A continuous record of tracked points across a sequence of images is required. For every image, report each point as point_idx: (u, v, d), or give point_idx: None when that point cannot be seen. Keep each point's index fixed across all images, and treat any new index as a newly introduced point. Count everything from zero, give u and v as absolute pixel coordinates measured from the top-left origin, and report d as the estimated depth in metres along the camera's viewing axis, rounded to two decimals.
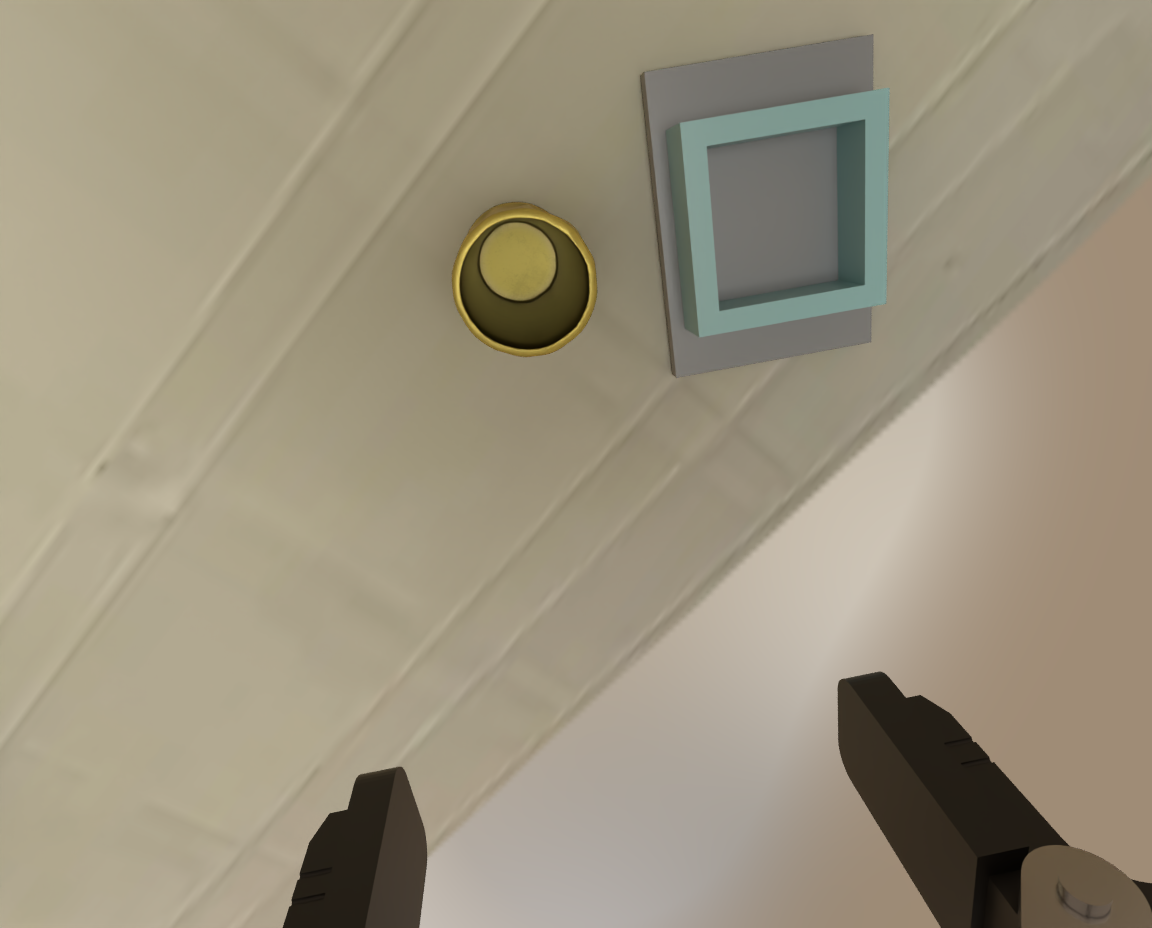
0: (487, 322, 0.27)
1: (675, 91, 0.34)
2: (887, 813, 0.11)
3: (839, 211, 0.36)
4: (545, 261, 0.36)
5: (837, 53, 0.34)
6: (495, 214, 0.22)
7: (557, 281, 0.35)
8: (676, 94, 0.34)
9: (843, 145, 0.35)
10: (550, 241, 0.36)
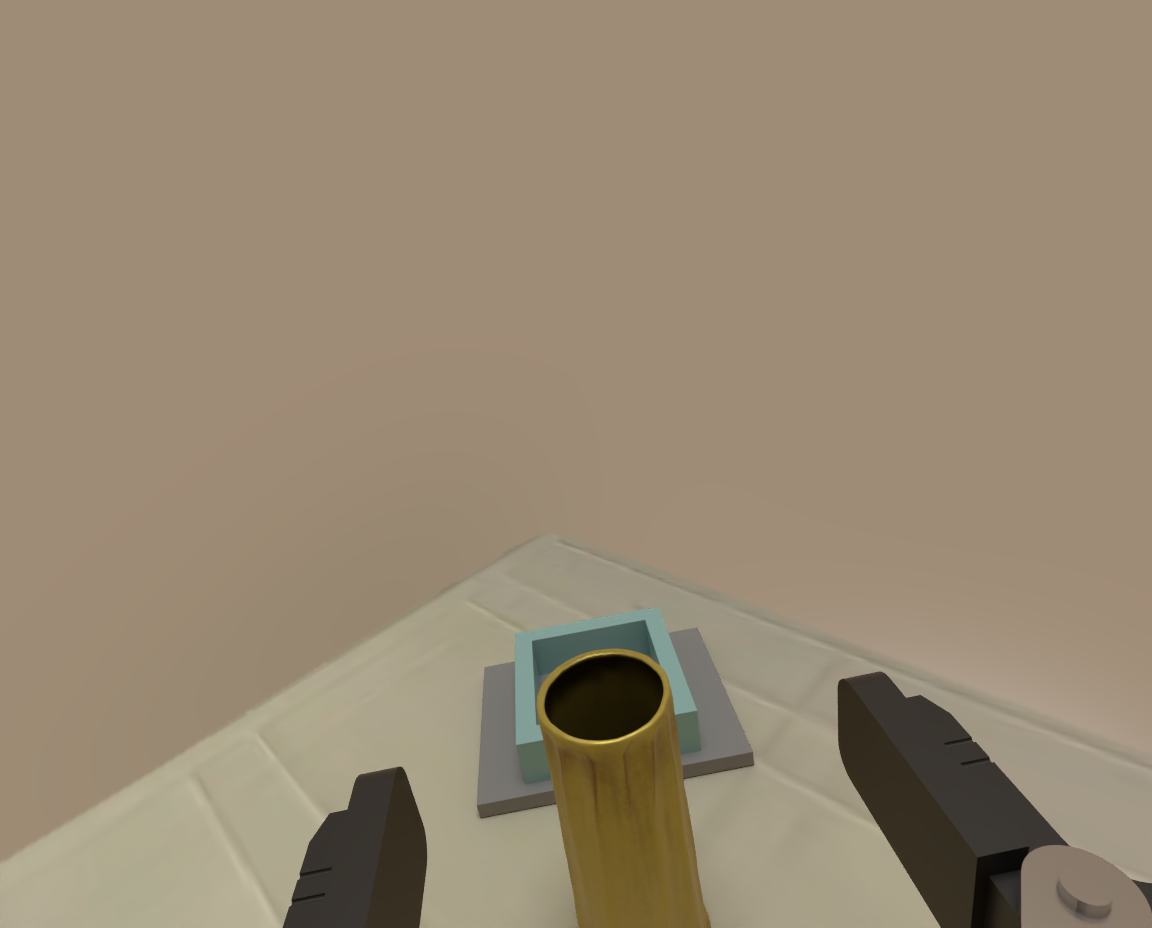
0: None
1: (496, 780, 0.38)
2: (887, 813, 0.11)
3: None
4: None
5: (491, 683, 0.46)
6: (538, 715, 0.24)
7: None
8: (499, 778, 0.38)
9: (551, 664, 0.46)
10: None
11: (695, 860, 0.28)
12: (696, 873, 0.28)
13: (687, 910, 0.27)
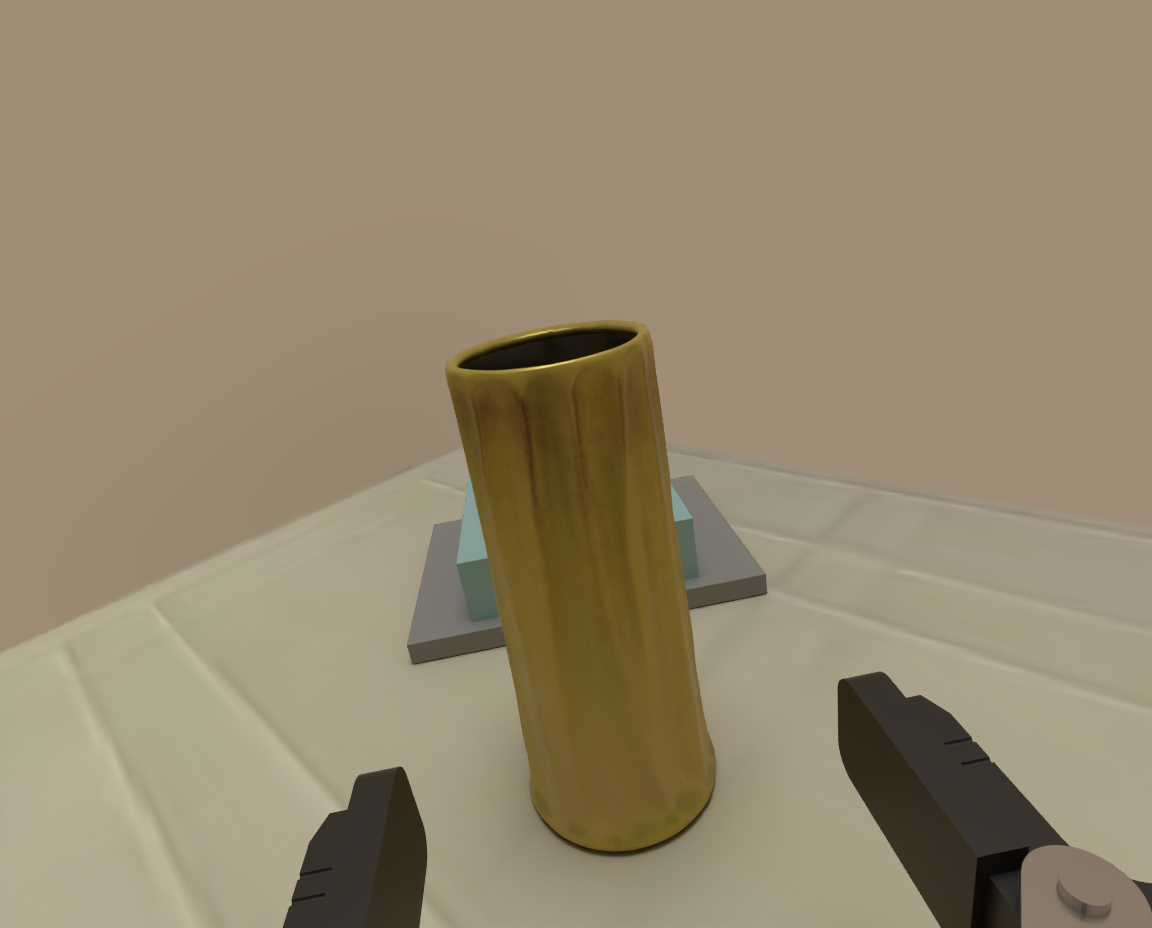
0: None
1: (435, 620, 0.30)
2: (887, 813, 0.11)
3: None
4: None
5: (441, 537, 0.38)
6: (446, 368, 0.16)
7: None
8: (438, 619, 0.30)
9: None
10: None
11: (691, 639, 0.19)
12: (693, 661, 0.19)
13: (680, 704, 0.18)
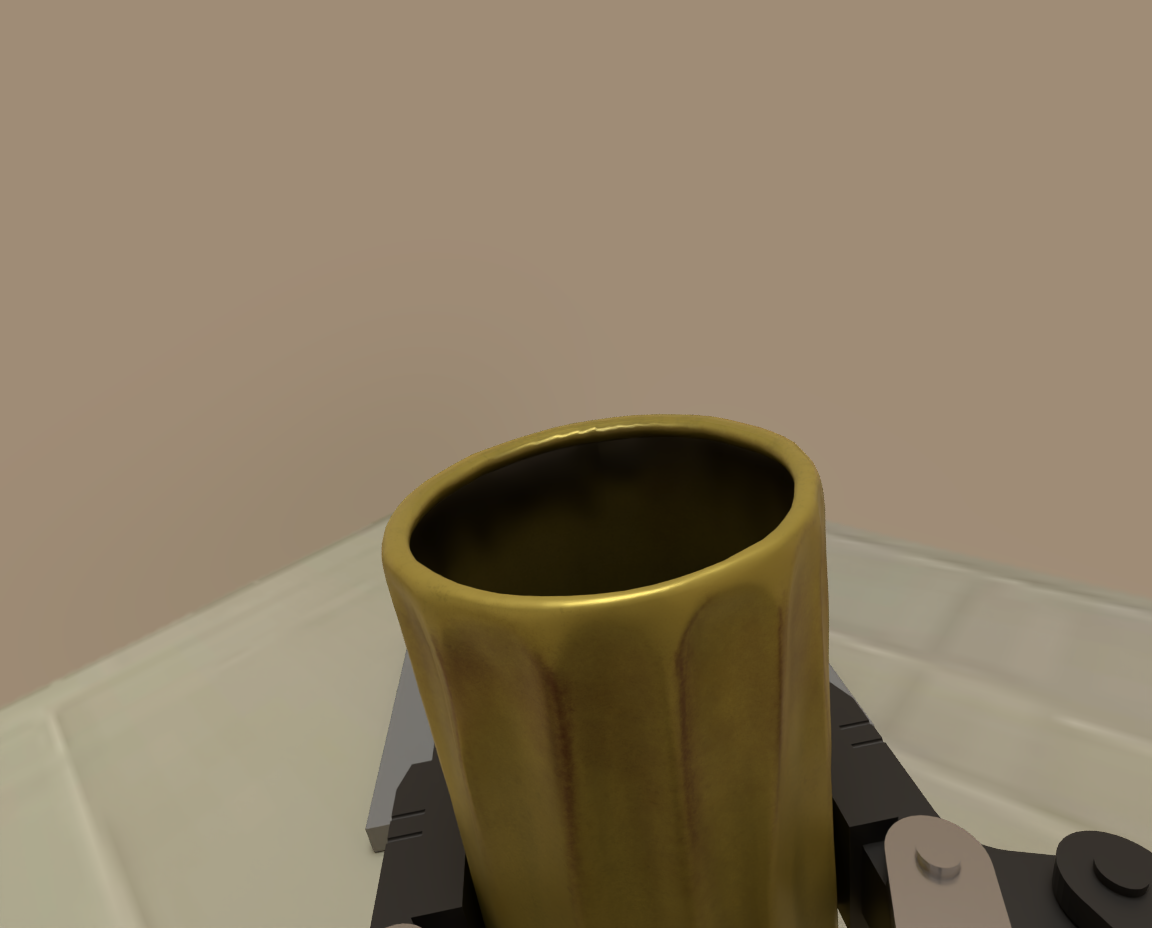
0: None
1: None
2: None
3: None
4: None
5: None
6: (383, 546, 0.07)
7: None
8: None
9: None
10: None
11: None
12: None
13: None
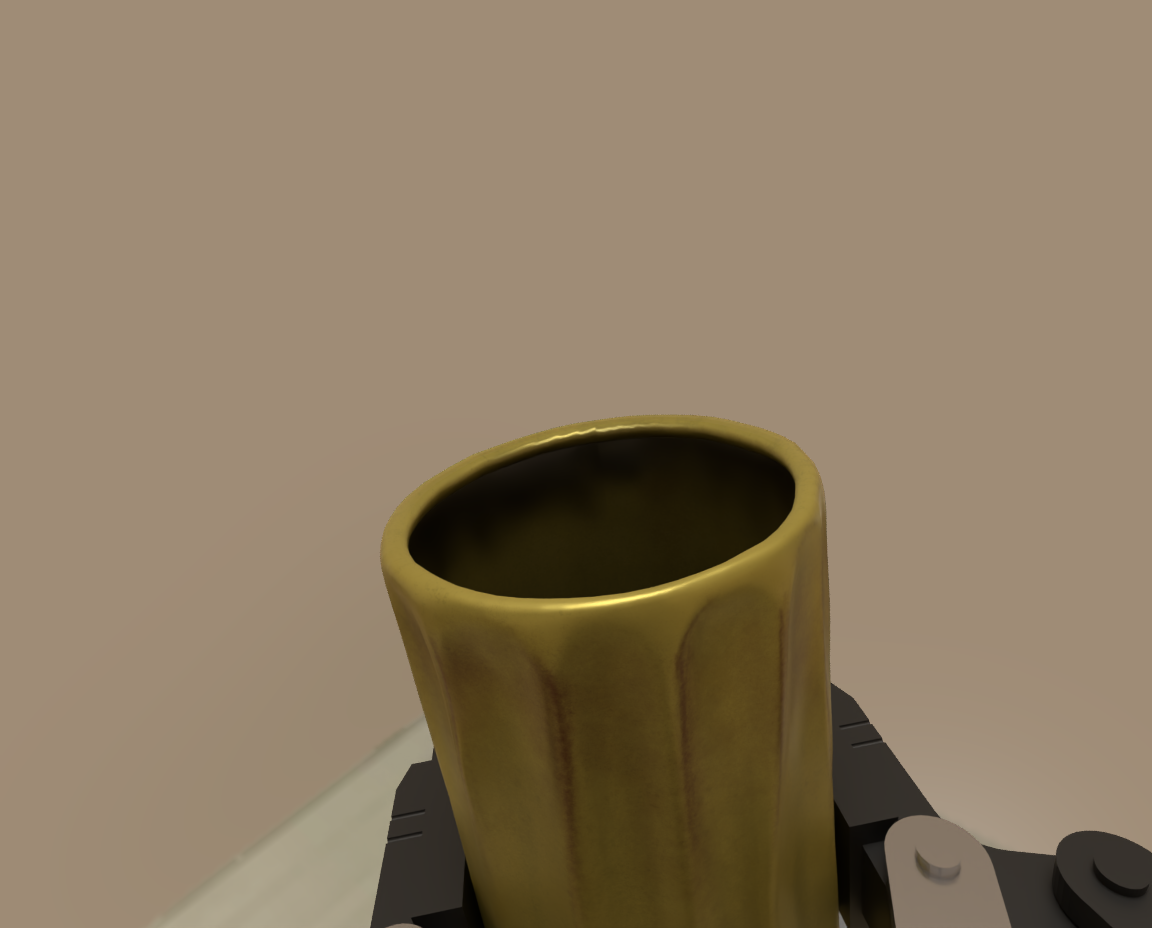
0: None
1: None
2: None
3: None
4: None
5: None
6: (381, 548, 0.07)
7: None
8: None
9: None
10: None
11: None
12: None
13: None
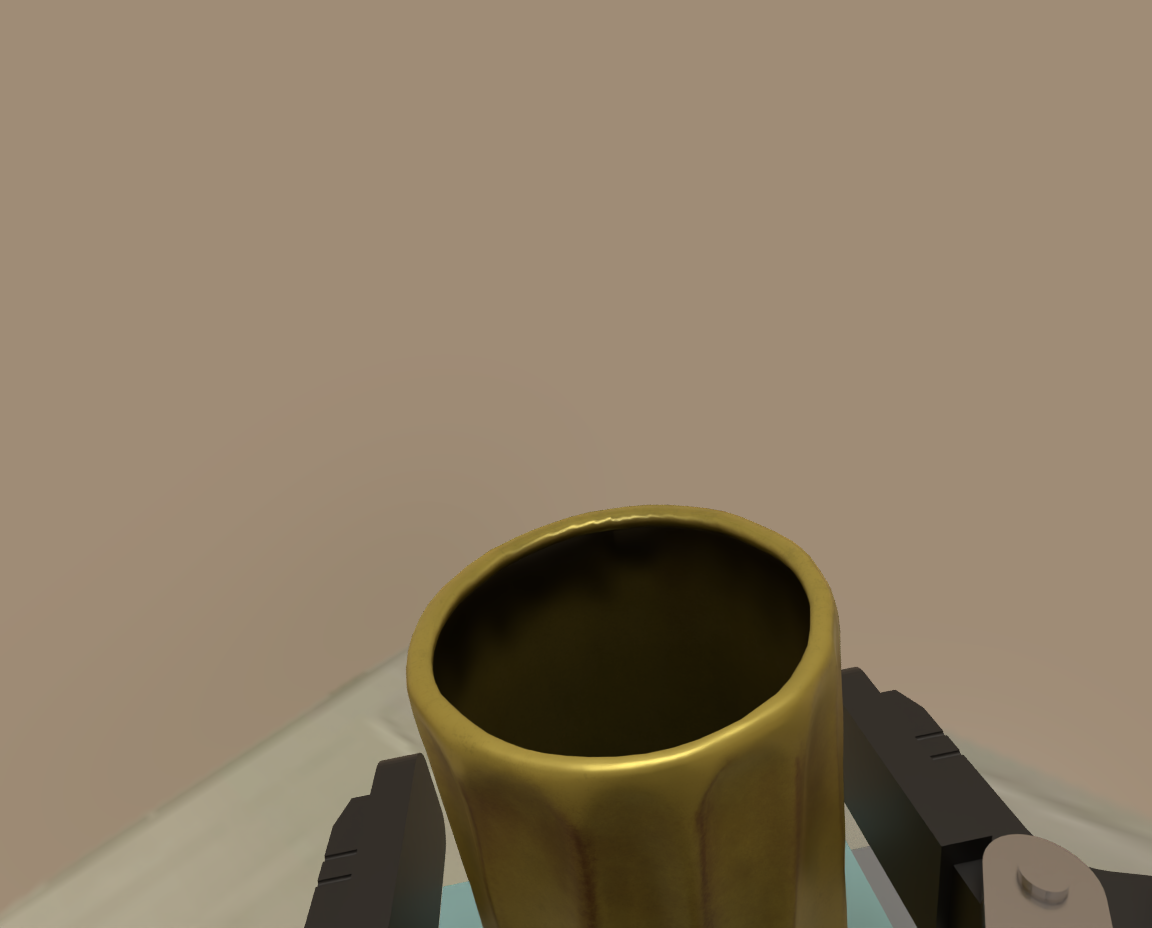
0: None
1: None
2: (861, 805, 0.11)
3: None
4: None
5: None
6: (407, 673, 0.07)
7: None
8: None
9: None
10: None
11: None
12: None
13: None
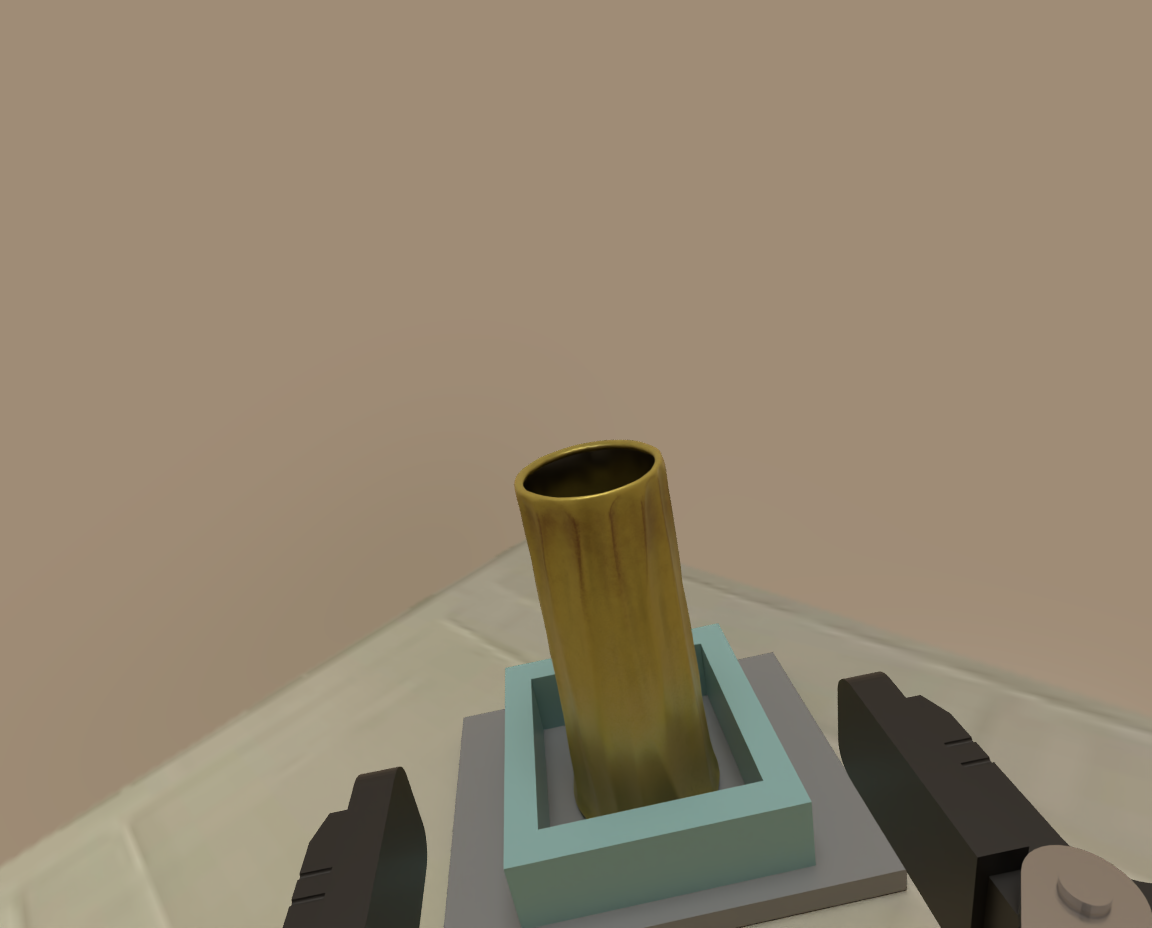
0: None
1: (474, 920, 0.23)
2: (887, 813, 0.11)
3: None
4: None
5: (473, 743, 0.31)
6: (516, 488, 0.22)
7: None
8: (478, 918, 0.23)
9: (560, 713, 0.31)
10: None
11: (698, 679, 0.25)
12: (700, 695, 0.25)
13: (690, 729, 0.24)
